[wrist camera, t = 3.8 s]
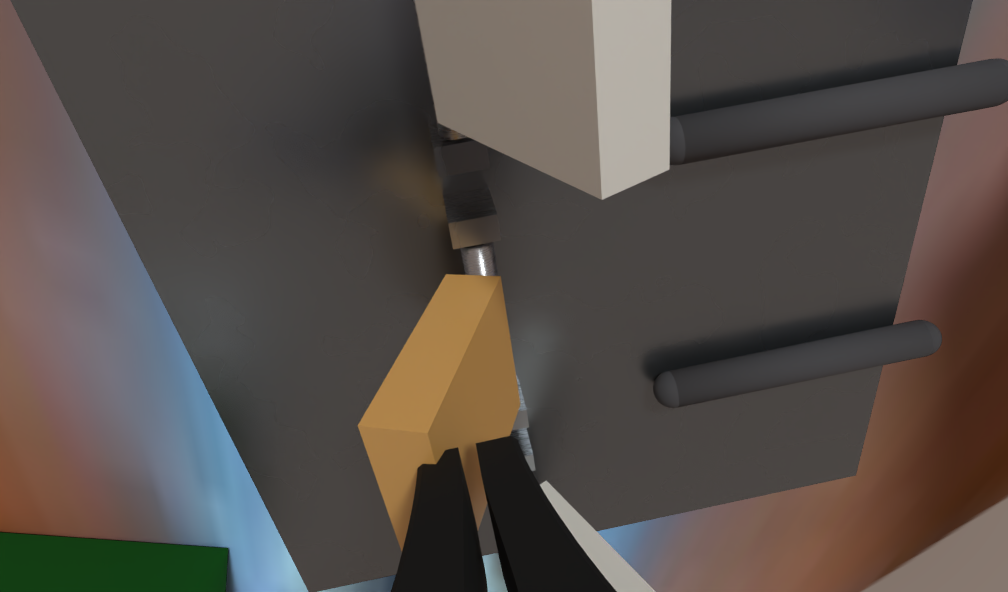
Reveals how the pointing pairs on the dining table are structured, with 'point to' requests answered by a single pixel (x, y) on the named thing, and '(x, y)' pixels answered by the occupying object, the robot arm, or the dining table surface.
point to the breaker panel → (496, 245)
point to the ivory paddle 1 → (556, 83)
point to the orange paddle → (444, 394)
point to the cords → (803, 123)
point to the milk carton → (107, 565)
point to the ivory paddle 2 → (597, 547)
